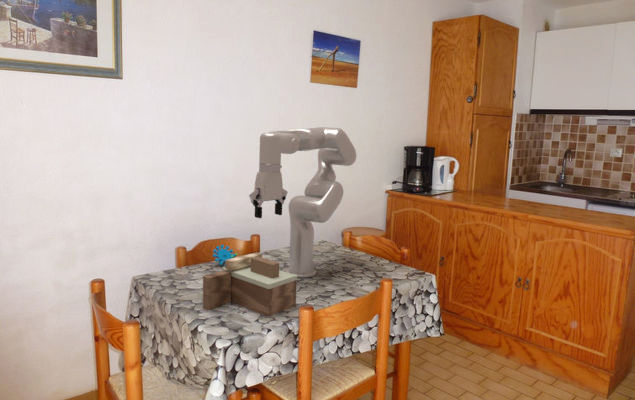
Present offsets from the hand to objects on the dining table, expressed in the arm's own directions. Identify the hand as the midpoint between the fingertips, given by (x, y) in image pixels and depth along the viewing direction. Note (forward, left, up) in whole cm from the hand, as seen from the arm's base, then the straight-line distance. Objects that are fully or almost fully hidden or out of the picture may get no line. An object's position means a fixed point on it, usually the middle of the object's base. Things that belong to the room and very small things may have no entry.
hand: (268, 216), depth 169 cm
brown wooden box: (+17, +9, -27) cm, 33 cm away
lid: (+12, +9, -18) cm, 23 cm away
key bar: (+12, +1, -16) cm, 20 cm away
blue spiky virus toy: (-8, -33, -27) cm, 43 cm away
